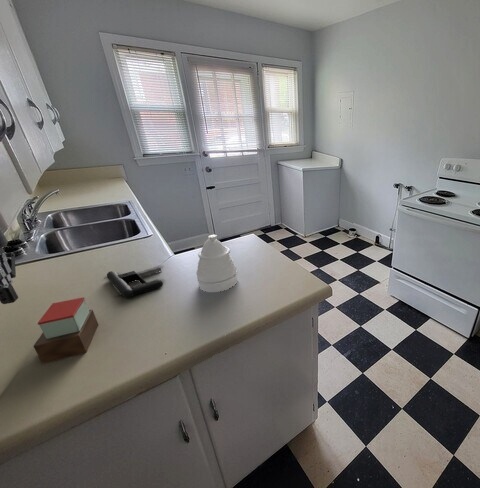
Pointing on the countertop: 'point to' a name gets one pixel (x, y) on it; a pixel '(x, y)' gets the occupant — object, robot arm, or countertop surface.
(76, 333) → the stand
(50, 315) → the mint and red box
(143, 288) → the door handle
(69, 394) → the countertop surface
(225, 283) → the honey pot
